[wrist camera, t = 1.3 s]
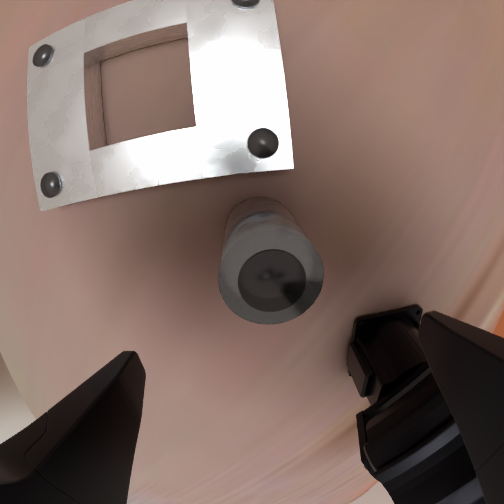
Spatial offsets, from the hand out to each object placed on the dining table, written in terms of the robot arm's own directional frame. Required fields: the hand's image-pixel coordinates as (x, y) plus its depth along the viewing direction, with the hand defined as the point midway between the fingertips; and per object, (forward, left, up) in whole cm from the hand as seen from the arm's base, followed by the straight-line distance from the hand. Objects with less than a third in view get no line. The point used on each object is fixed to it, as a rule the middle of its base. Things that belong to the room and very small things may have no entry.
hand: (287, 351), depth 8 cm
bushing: (0, 0, -11) cm, 11 cm away
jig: (+6, -10, -11) cm, 16 cm away
